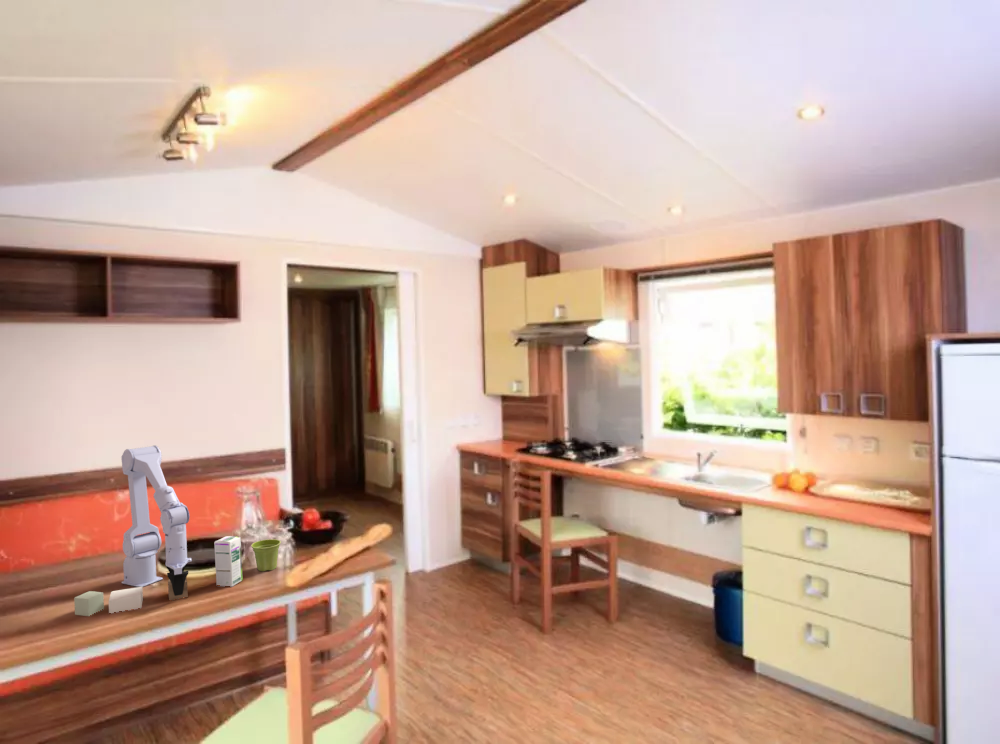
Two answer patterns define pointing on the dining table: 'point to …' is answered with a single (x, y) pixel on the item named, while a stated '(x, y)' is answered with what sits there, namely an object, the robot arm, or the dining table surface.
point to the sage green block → (89, 603)
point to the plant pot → (266, 554)
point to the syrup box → (228, 561)
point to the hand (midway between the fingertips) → (178, 590)
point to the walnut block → (171, 593)
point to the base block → (125, 599)
